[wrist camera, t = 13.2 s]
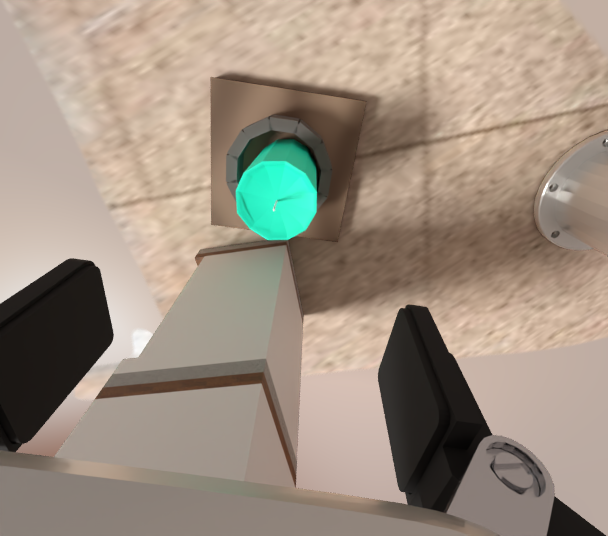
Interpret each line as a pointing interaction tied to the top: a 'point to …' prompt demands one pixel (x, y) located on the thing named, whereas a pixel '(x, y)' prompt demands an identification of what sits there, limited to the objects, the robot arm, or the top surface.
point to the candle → (279, 191)
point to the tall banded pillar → (210, 377)
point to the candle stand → (282, 125)
